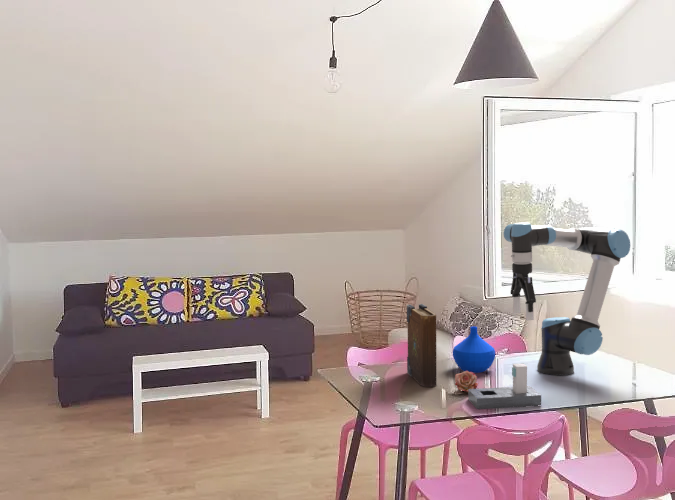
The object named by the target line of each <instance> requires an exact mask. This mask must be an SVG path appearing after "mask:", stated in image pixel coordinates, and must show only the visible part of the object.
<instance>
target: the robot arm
mask: <svg viewBox="0 0 675 500" xmlns="http://www.w3.org/2000/svg"><path fill="white" fill-rule="evenodd" d="M503 237H504V240H505V241H506V242H509V243H511V256H510V257H511V258H512V259H511V261H512V264H511V269H512V282H511V287H510V295H511V297H512V313H513V314H520V313H521V291H522V290H523V293H524V294H523V295H524V297H525V300H526V301H525V320H526V321H534V320H535V318H534V316H535V315H534V304H535V303H537V299H536V295H535V290H534V285H533V277H532V276H529V274H531V273H533V264H532V262H533V247H536V246H549V247H550V246H551V247H560V248H567V249H568V250H570V251H577V252H582V253H584V254H589V255H590V257H591V259H592V264H591V267H590V270H589V273H588V276H587V280H586V284H585V286H584V290H583V293H582V297H581V299H580V303H579V306H578V310H577V312H576V315H574V316H572V317H571V318H569V317H567V316H566V317H565V316H558V317H547V318H544V319H543V320H542V322H541V327H540V328H541V329H540V330H541V354H540V355H539V356H540V357H539V359H538V362H537V367H536V368H537V371H538V372H539V373H541V374H545V375H551V376H566V375H567V376H568V375H571V374H574V373H575V372H574V371H575V365H574V363H573V360H572V356H571V352H572V353H574V354H575V353H576V354H579V355H585V356H590V355H593V354H595V353H596V352H597V351H598V350H599V349H600V348H601V345H602V343H603V339H604V338H603V333H602V330H600V327H601V325H600V323H599V318H600V314H601V311H602V308H603V305H604V301H605V298H606V295H607V291H608V288H609V285H610V281H611V278H612V275H613V272H614V269H615V266H617V265H619V264H620V262H621V259H623V258H625V257H627V256H628V255H629V253H630V250H631V240H630V238H629V235H628V234H627V232H625V231H624V230H623V229H617V228H608V227H606V228H605V227H591V226H590V227H571V228H569V229H567V228H566V229H565V228H556V227H553V226H552V225H547V224H544V225H533V224H532V223H531V222H516V223H515V222H514V223H510V224H507V225H506V226H505V227H504V229H503Z"/></svg>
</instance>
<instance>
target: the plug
mask: <svg viewBox="0 0 675 500" xmlns="http://www.w3.org/2000/svg"><path fill="white" fill-rule="evenodd" d="M511 376H512V387H513V392H514V393H515V394H521V393H527V386H528V366H527V365H526V364H524V363H513V364H512V367H511Z"/></svg>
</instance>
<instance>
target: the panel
mask: <svg viewBox="0 0 675 500" xmlns="http://www.w3.org/2000/svg"><path fill="white" fill-rule="evenodd" d="M467 399H468V401H469V402H470V403H471V404H472V405H473V407H474V408H475V409H476V410H489V409H490V410H491V409H492V410H493V409H494V410H495V409H508V408H509V409H510V408H511V409H512V408H527V407H526V406H534V407H539V406H538V405H541V406H542V394H540V393H539V392H538V391H537V390H535V388H533V387H532V386H530V385H527V393H521V394H515V393H514V392H513V386H504V387H486V388H485V387H484V388H481V387H480V388H476V389H468V392H467Z"/></svg>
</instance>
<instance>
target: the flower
mask: <svg viewBox="0 0 675 500" xmlns="http://www.w3.org/2000/svg"><path fill="white" fill-rule="evenodd" d="M477 381H478V376H477V375H476V373H473V372H469V371H462V372H460V373H456V374H455V376H454V385H455V386H456V388H457V390H458V391H460V390H462V391H464V392H467V393H468V389H478V386H479V383H478V382H477ZM462 391H461V392H462Z"/></svg>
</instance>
